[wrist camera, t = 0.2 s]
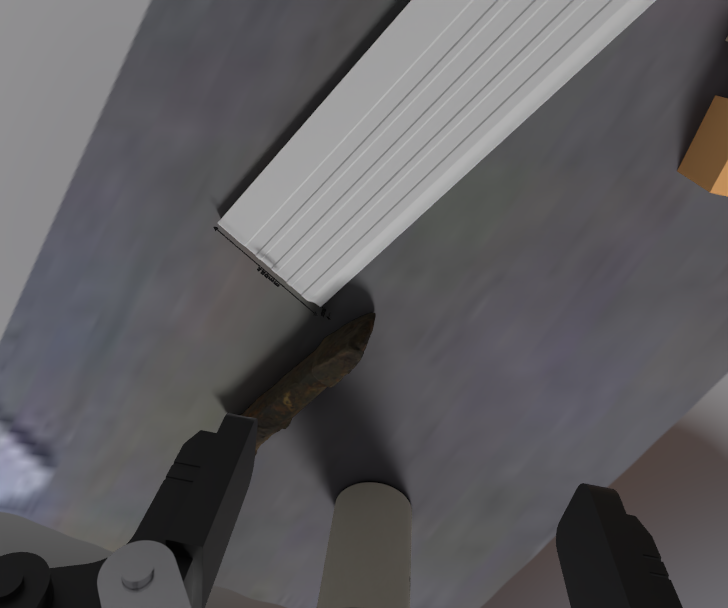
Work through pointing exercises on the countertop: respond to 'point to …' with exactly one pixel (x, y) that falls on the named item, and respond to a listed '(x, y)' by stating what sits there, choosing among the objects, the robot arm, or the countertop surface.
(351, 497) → the travel mug
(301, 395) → the brown pointed piece
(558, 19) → the baseboard
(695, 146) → the block
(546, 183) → the countertop surface
